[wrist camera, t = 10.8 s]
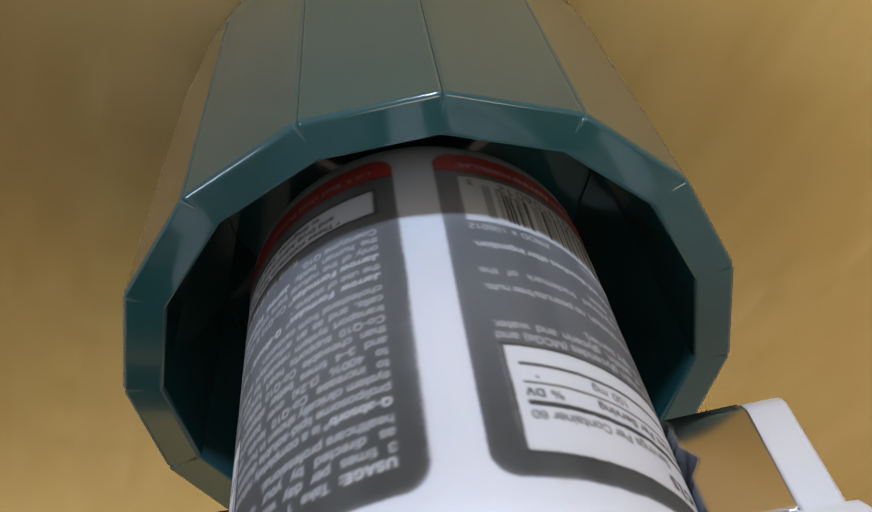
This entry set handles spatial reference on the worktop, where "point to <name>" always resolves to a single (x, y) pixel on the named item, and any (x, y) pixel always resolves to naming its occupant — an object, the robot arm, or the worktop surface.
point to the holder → (389, 129)
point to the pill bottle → (439, 353)
